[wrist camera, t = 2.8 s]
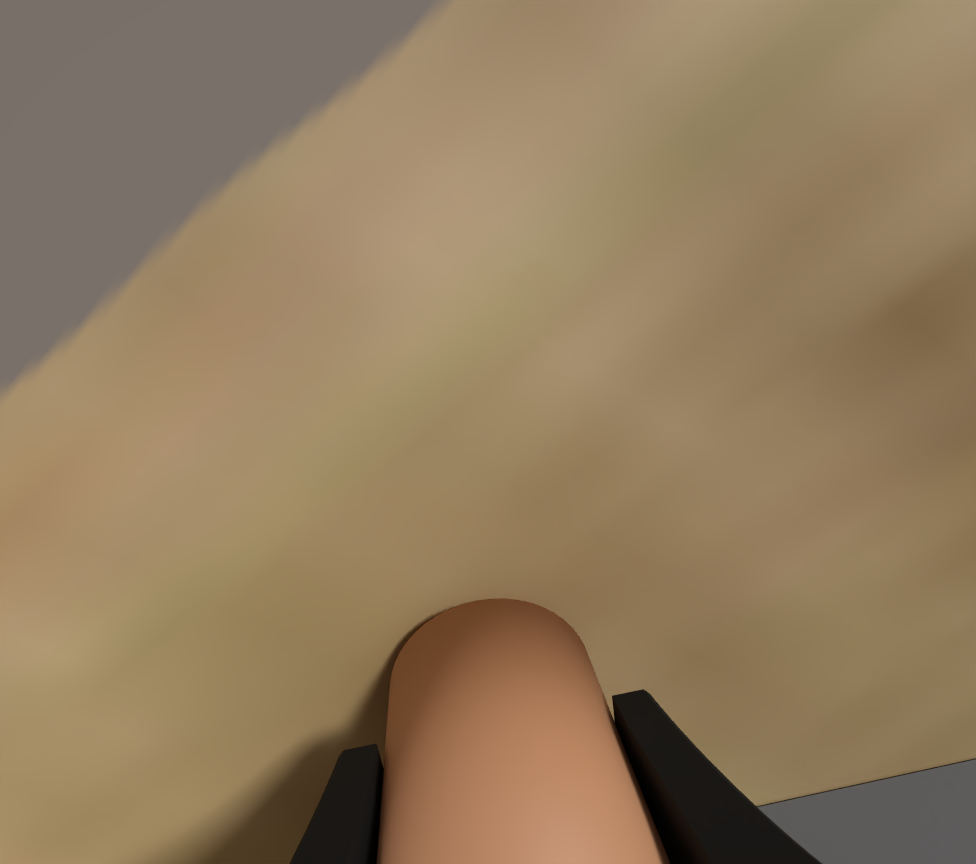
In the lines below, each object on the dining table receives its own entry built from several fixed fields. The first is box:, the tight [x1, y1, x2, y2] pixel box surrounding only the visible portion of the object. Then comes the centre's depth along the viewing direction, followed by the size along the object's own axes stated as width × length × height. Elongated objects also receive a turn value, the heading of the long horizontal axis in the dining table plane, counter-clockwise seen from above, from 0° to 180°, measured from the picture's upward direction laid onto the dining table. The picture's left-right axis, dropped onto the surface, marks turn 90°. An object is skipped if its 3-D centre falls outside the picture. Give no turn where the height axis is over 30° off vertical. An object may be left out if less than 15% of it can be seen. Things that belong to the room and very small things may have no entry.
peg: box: [377, 599, 670, 864], centre depth 10 cm, size 4×4×6 cm
